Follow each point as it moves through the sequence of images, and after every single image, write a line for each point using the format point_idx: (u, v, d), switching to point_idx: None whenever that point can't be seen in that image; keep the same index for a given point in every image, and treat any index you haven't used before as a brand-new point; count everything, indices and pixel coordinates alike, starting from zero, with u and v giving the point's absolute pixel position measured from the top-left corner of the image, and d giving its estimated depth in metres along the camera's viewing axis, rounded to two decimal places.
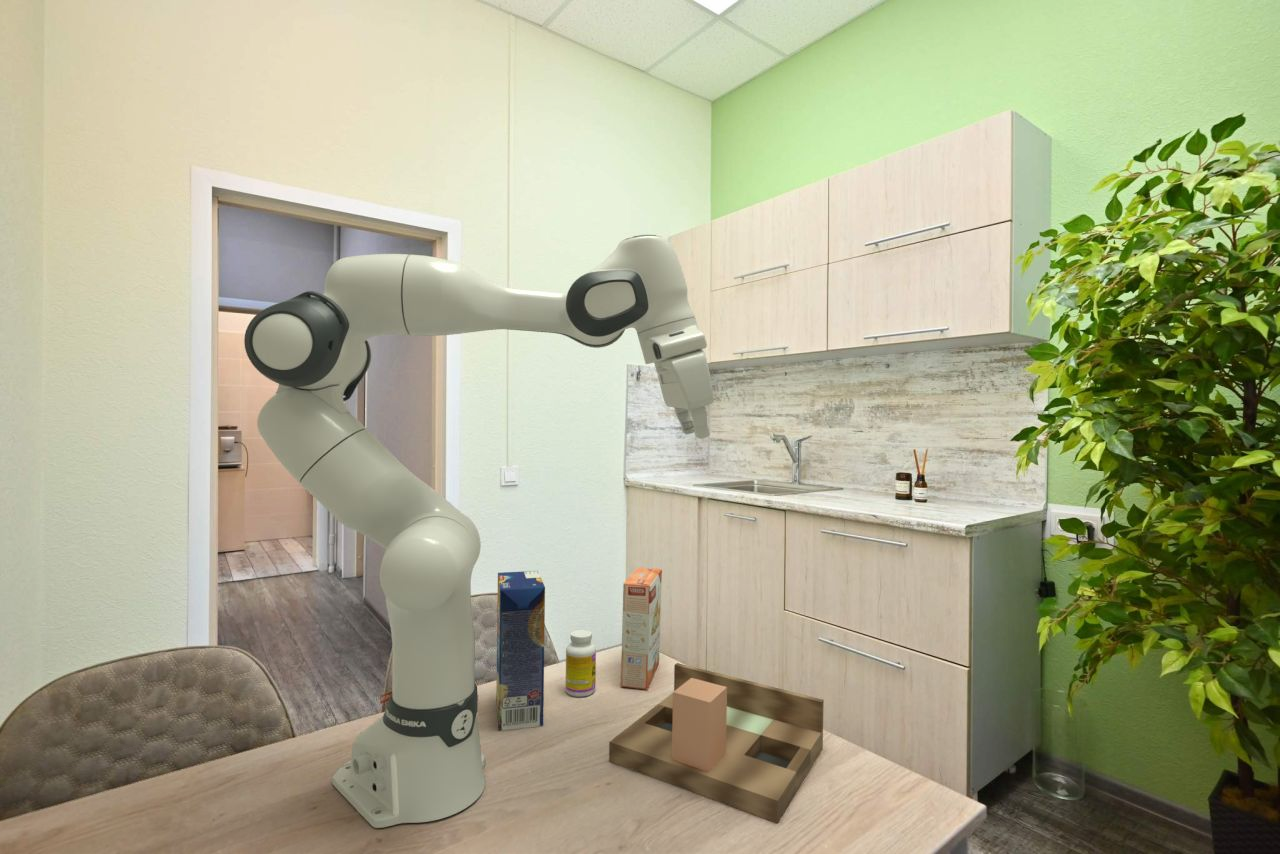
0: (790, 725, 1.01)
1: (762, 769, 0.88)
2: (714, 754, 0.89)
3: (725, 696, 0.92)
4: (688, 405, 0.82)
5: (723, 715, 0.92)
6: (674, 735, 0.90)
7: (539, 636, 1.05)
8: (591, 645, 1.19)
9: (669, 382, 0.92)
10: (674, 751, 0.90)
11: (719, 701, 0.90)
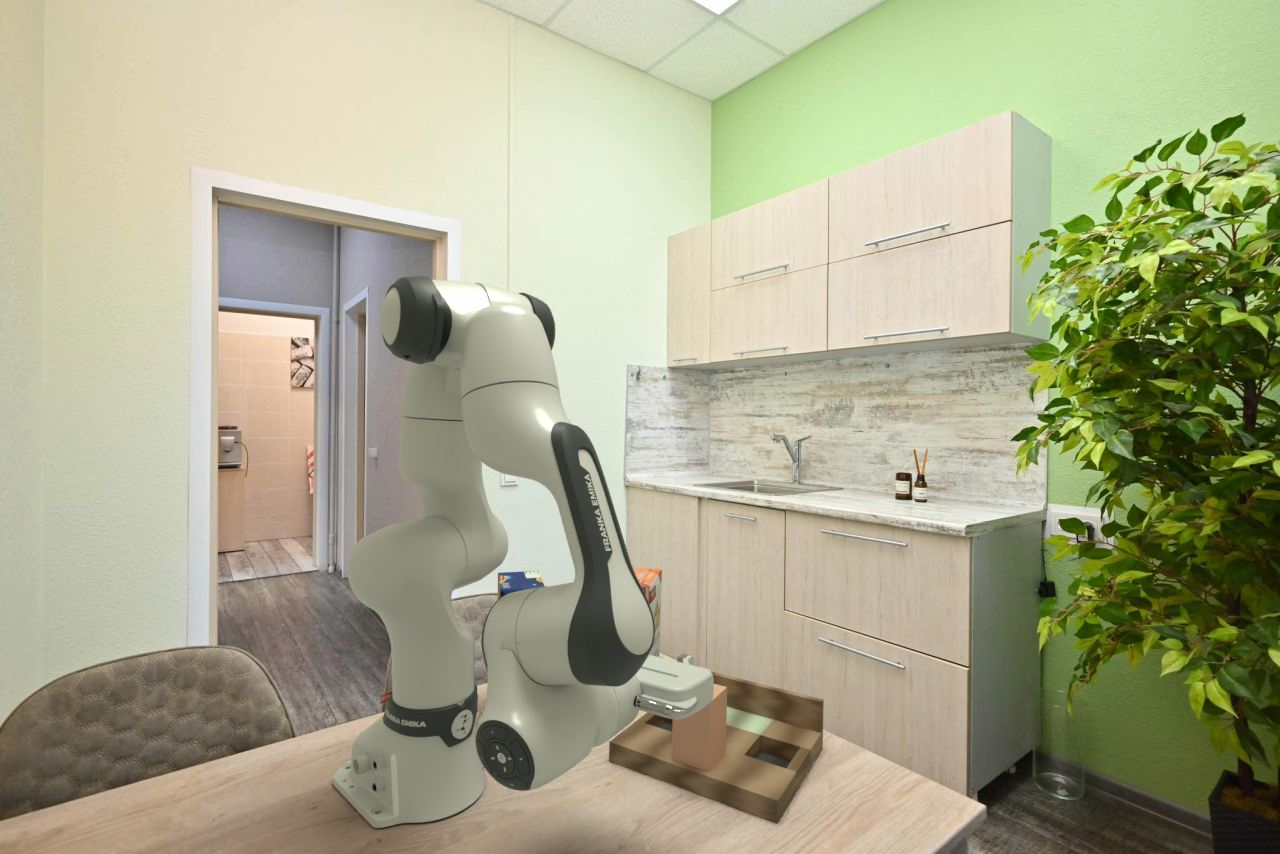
0: (790, 725, 1.01)
1: (762, 769, 0.88)
2: (714, 754, 0.89)
3: (725, 696, 0.92)
4: None
5: (723, 715, 0.92)
6: (674, 735, 0.90)
7: None
8: None
9: None
10: (674, 751, 0.90)
11: (719, 701, 0.90)
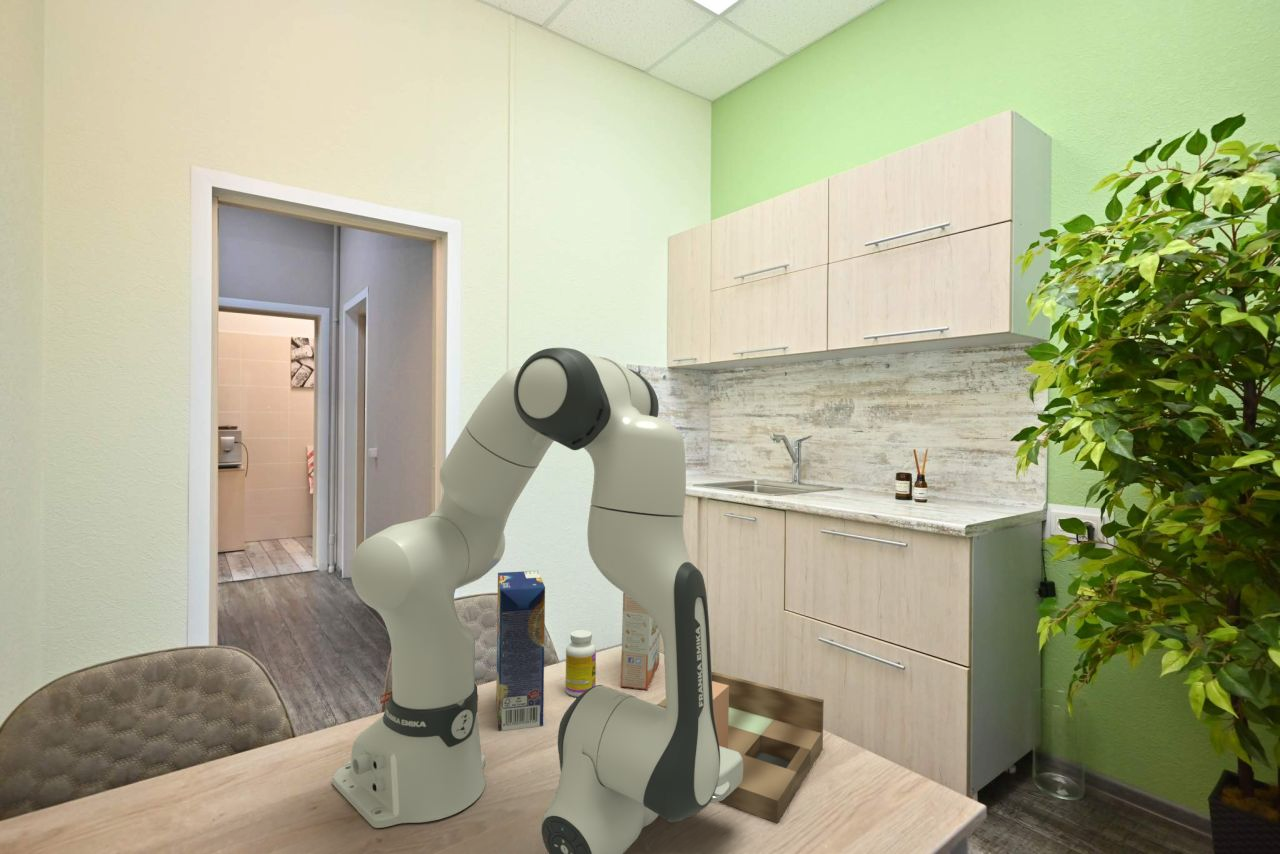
0: (790, 725, 1.01)
1: (762, 769, 0.88)
2: None
3: (727, 695, 0.93)
4: None
5: (725, 713, 0.92)
6: None
7: (539, 636, 1.05)
8: (591, 645, 1.19)
9: None
10: None
11: (721, 700, 0.91)
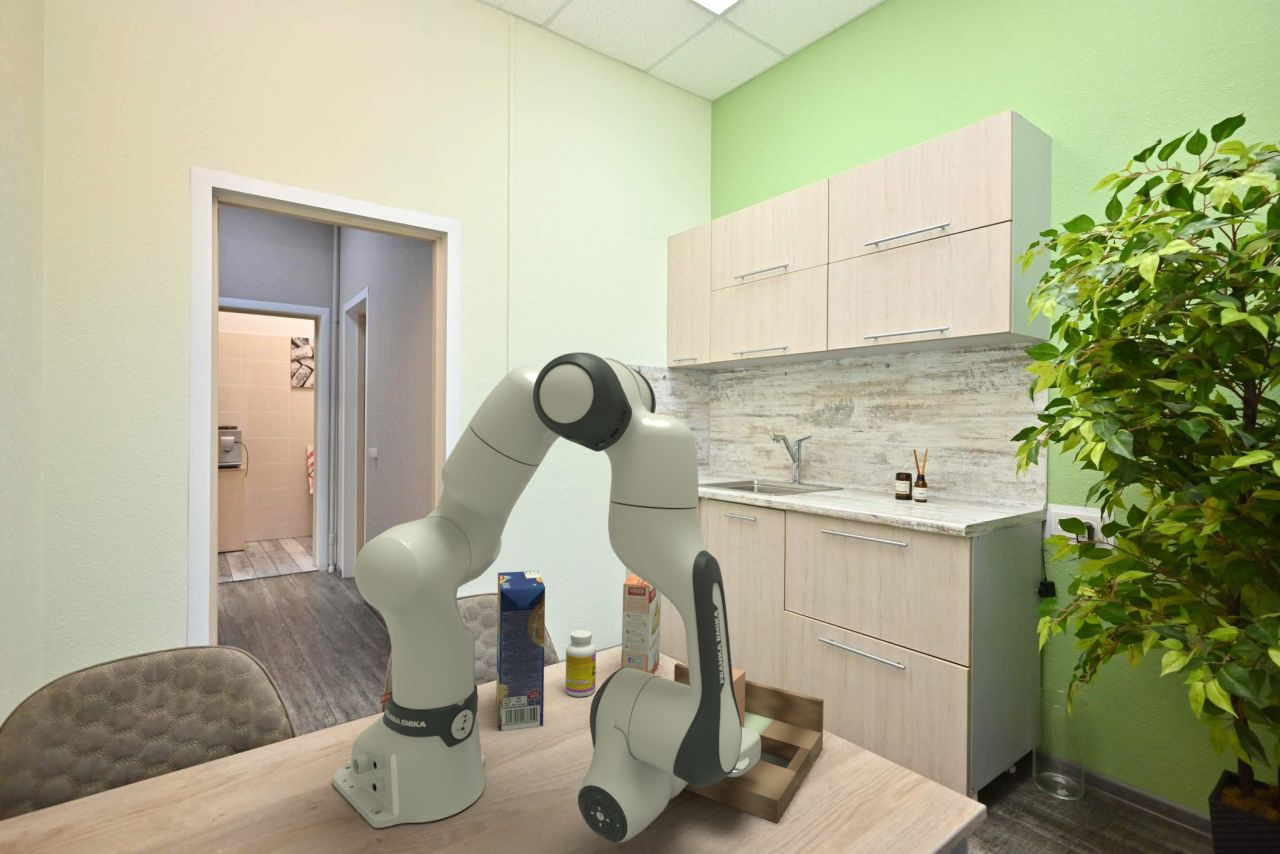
0: (790, 725, 1.01)
1: (762, 769, 0.88)
2: None
3: (744, 680, 0.98)
4: None
5: (742, 697, 0.98)
6: None
7: (539, 636, 1.05)
8: (591, 645, 1.19)
9: None
10: None
11: (738, 684, 0.96)
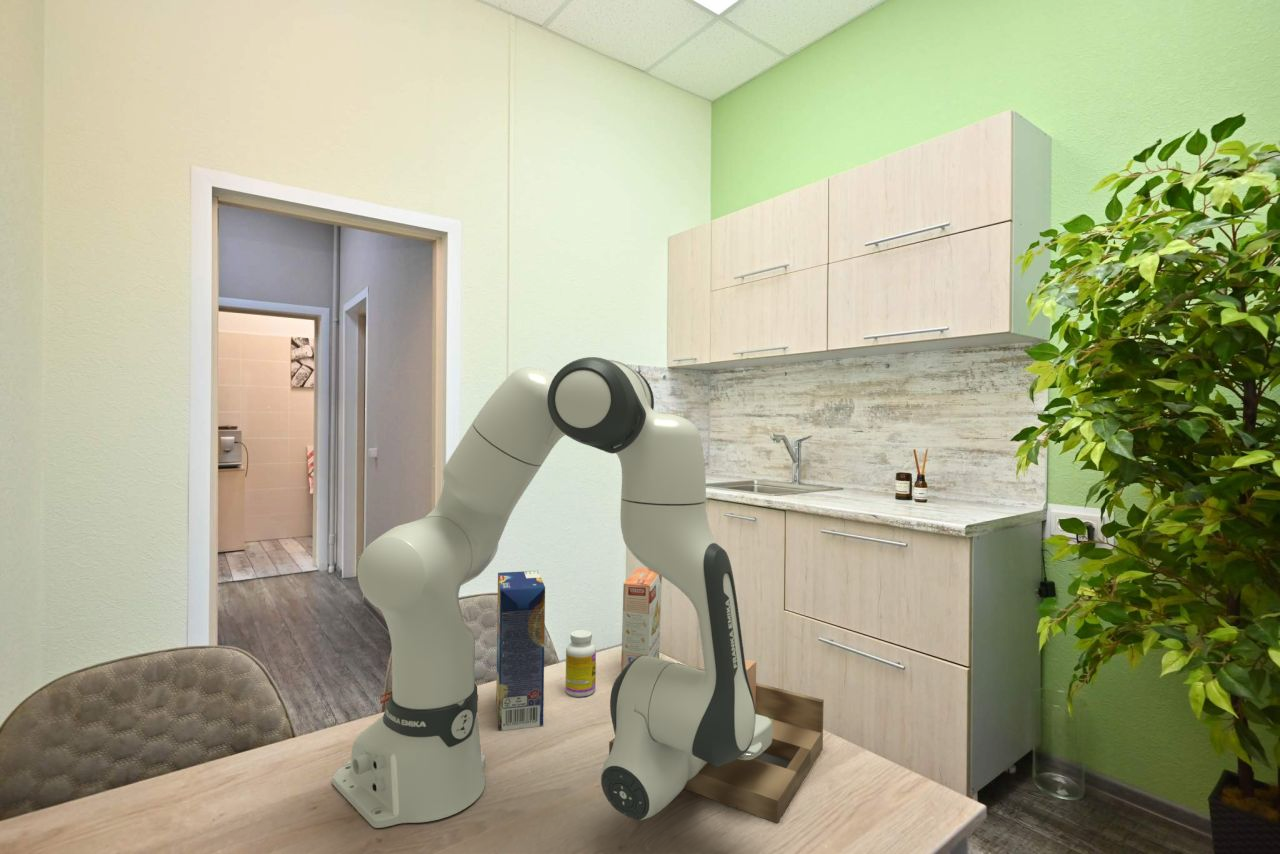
0: (790, 725, 1.01)
1: (762, 769, 0.88)
2: None
3: (755, 670, 1.02)
4: None
5: (753, 686, 1.01)
6: None
7: (539, 636, 1.05)
8: (591, 645, 1.19)
9: None
10: None
11: (750, 674, 1.00)
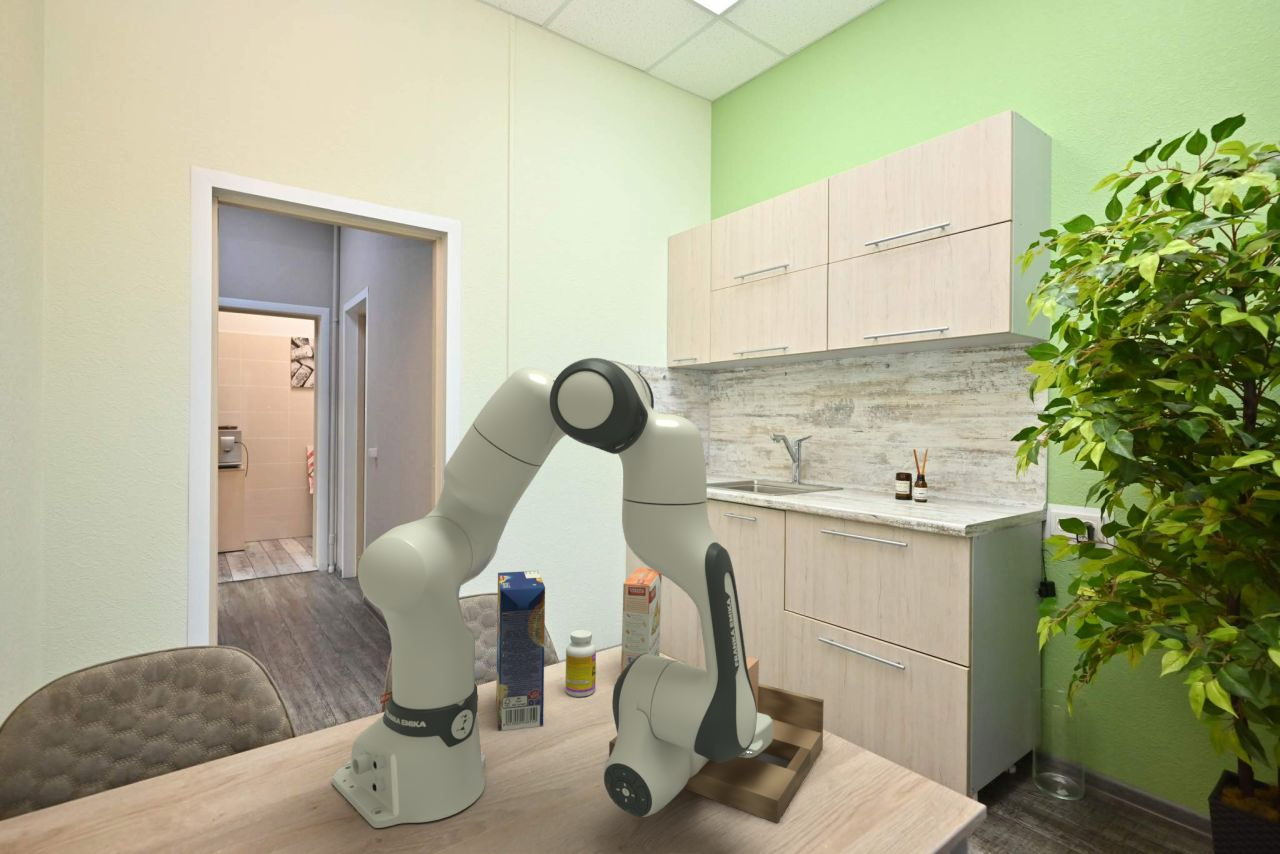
0: (790, 725, 1.01)
1: (762, 769, 0.88)
2: None
3: (757, 668, 1.03)
4: None
5: (755, 684, 1.02)
6: None
7: (539, 636, 1.05)
8: (591, 645, 1.19)
9: None
10: None
11: (753, 672, 1.01)
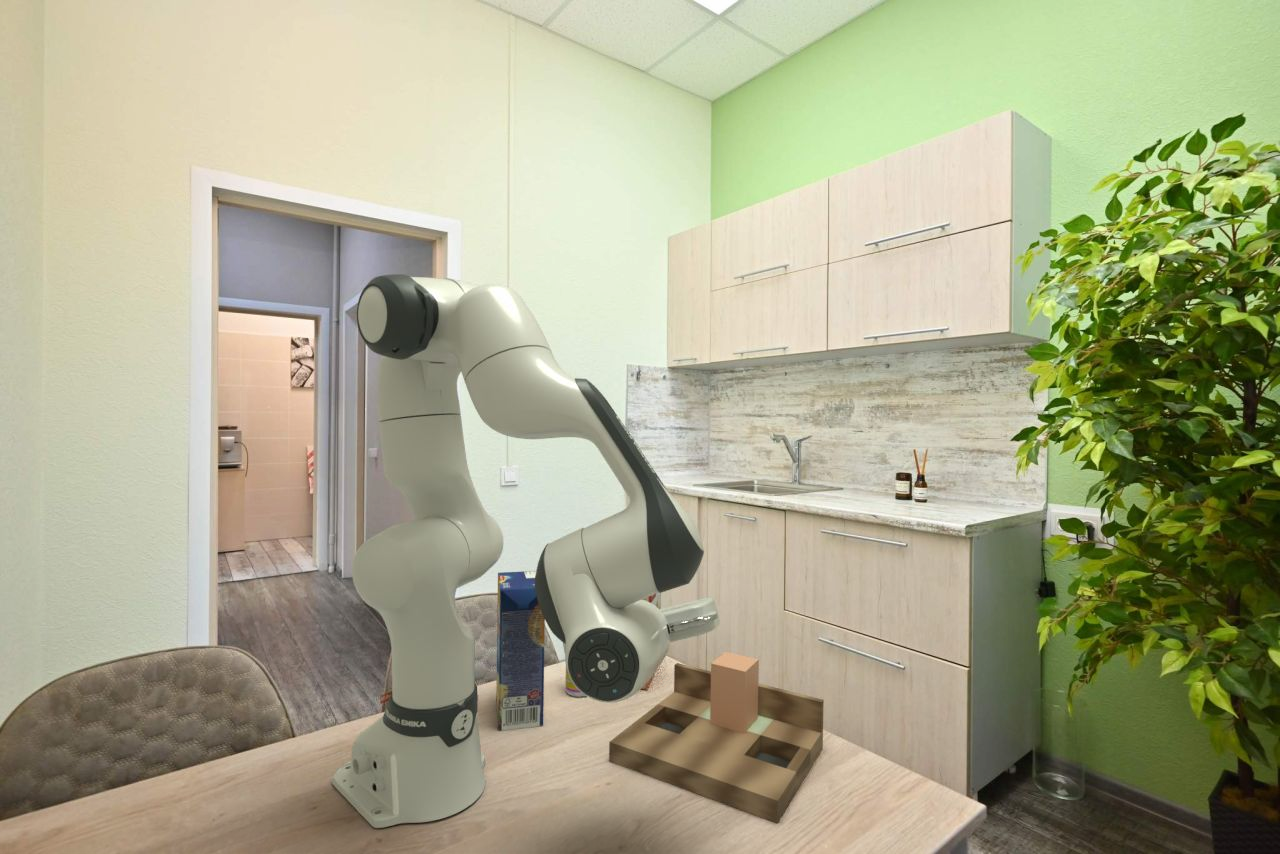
0: (790, 725, 1.01)
1: (762, 769, 0.88)
2: (748, 718, 1.00)
3: (757, 668, 1.03)
4: None
5: (755, 684, 1.02)
6: (712, 701, 1.01)
7: (539, 636, 1.05)
8: None
9: None
10: (712, 716, 1.01)
11: (753, 672, 1.01)
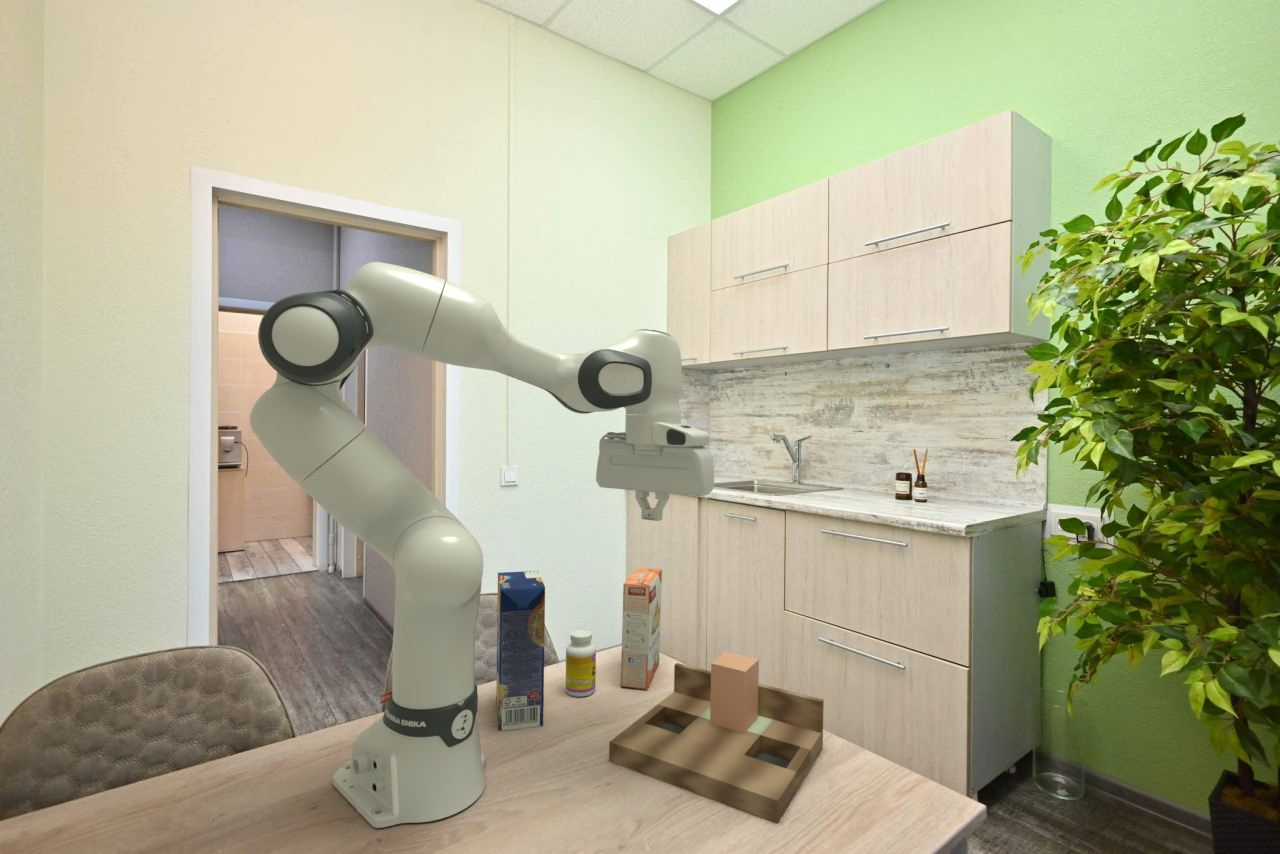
0: (790, 725, 1.01)
1: (762, 769, 0.88)
2: (748, 718, 1.00)
3: (757, 668, 1.03)
4: (700, 492, 0.92)
5: (755, 684, 1.02)
6: (712, 701, 1.01)
7: (539, 636, 1.05)
8: (591, 645, 1.19)
9: (640, 465, 0.97)
10: (712, 716, 1.01)
11: (753, 672, 1.01)
